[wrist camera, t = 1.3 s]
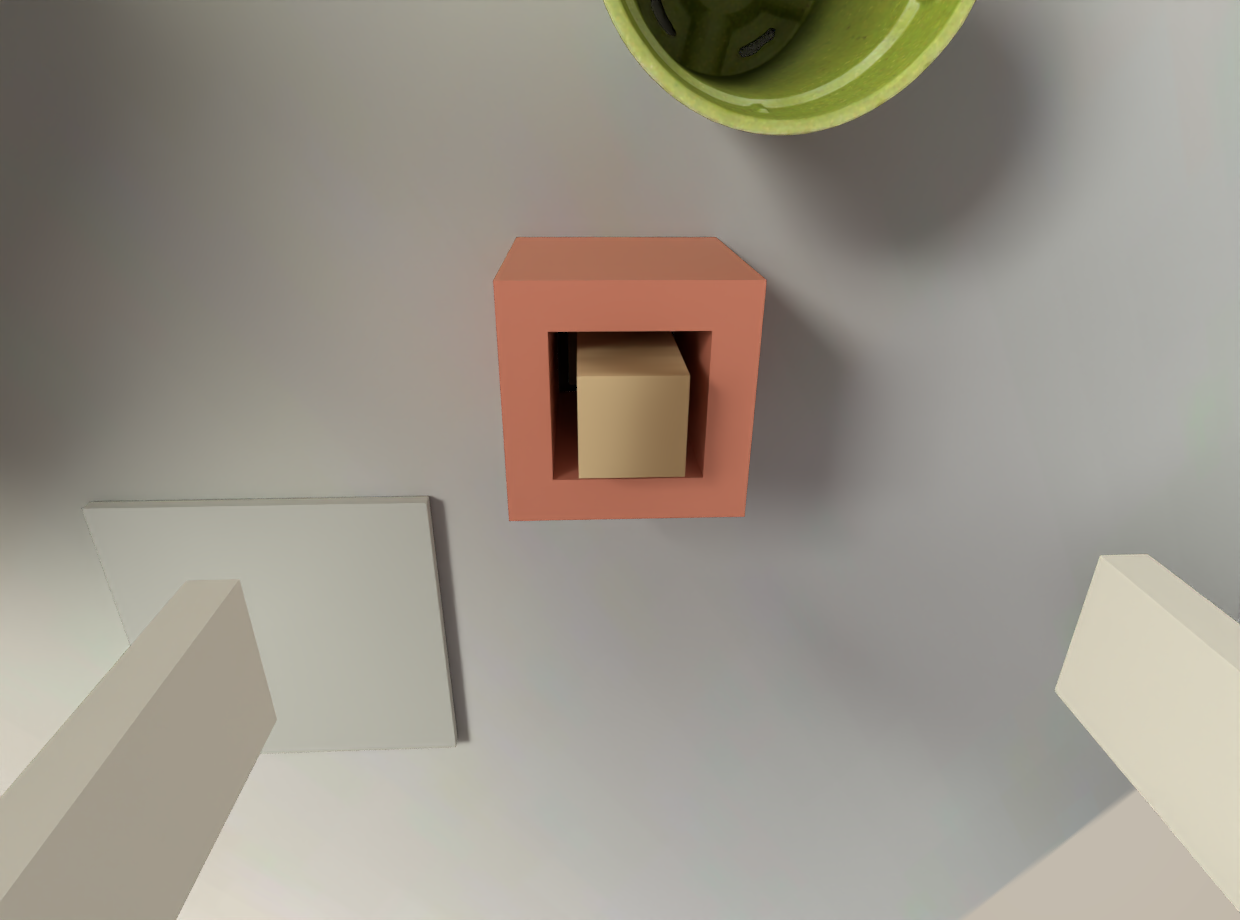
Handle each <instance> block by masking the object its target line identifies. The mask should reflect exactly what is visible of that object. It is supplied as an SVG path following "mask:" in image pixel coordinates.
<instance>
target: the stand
mask: <svg viewBox="0 0 1240 920" xmlns="http://www.w3.org/2000/svg"><path fill="white" fill-rule="evenodd" d="M568 369H569V385H577V409H578V464H579V478H636V477H685V465H686V446H687V427H688V408H689V389H690V374H689V372H688V369H687V367H686V365H685V363H684V360H683V358H682V356H681V353H680V351H679V349H678V347H677V344H676V342H675V340H674V337H673V335H672V333H671V331H590V332H568Z"/></svg>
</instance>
